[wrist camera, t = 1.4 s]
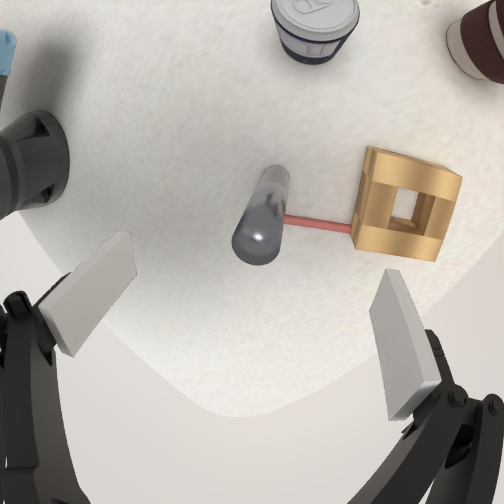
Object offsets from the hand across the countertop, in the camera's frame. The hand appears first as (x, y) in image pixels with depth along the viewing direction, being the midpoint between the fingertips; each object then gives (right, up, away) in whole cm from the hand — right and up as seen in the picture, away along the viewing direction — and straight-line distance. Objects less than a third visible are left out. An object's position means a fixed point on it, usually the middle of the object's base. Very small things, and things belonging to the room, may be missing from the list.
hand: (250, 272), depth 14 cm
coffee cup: (+24, +24, +3) cm, 34 cm away
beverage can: (+6, +22, +7) cm, 24 cm away
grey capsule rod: (+3, +9, +15) cm, 18 cm away
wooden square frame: (+16, +7, +14) cm, 23 cm away
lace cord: (+5, +5, +17) cm, 19 cm away
